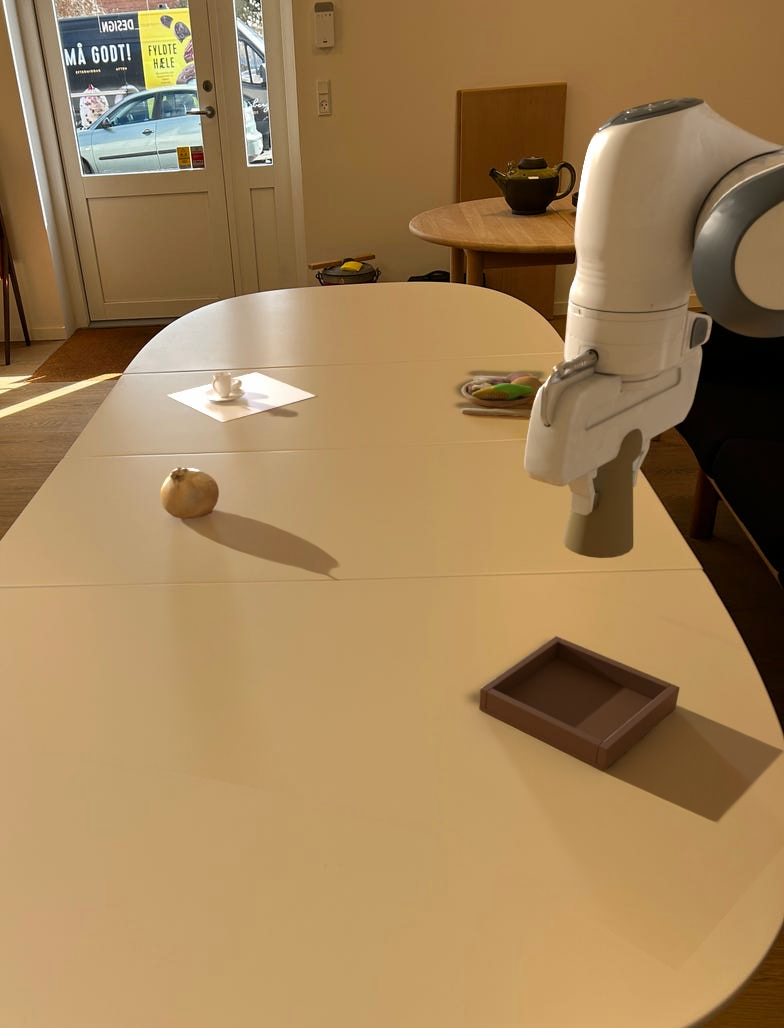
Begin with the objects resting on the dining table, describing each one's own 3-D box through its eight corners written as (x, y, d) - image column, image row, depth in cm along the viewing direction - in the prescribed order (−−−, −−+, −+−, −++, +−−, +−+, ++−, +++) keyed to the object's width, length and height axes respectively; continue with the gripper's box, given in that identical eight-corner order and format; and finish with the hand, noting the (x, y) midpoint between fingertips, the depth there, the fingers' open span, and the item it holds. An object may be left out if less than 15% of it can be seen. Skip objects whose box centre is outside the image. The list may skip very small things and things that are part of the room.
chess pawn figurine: (549, 544, 85) (559, 425, 79) (585, 521, 89) (598, 405, 83) (610, 564, 82) (626, 441, 76) (646, 539, 85) (664, 419, 79)
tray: (675, 708, 92) (679, 687, 90) (603, 771, 85) (606, 749, 83) (553, 656, 100) (555, 635, 99) (478, 709, 93) (480, 688, 92)
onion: (179, 499, 139) (173, 452, 135) (229, 505, 137) (225, 457, 133) (153, 522, 133) (146, 474, 129) (206, 529, 130) (200, 480, 126)
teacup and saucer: (234, 385, 182) (232, 364, 180) (257, 395, 177) (255, 373, 175) (194, 396, 178) (191, 374, 176) (216, 406, 173) (214, 384, 171)
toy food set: (467, 378, 179) (468, 356, 177) (543, 379, 176) (545, 357, 174) (455, 414, 163) (456, 391, 161) (539, 417, 160) (541, 393, 158)
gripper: (584, 377, 68) (566, 552, 75) (723, 315, 79) (696, 472, 87) (510, 361, 72) (500, 530, 79) (653, 304, 83) (632, 456, 91)
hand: (603, 499), depth 83 cm, fingers closed on chess pawn figurine, 4 cm apart
